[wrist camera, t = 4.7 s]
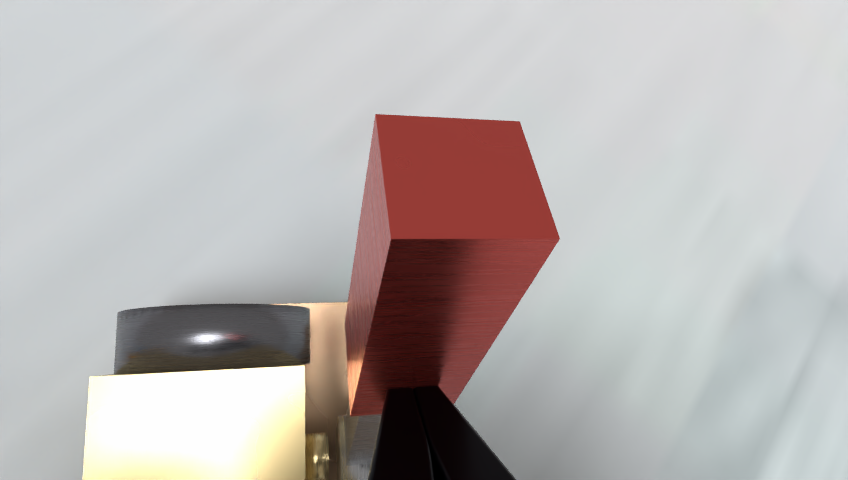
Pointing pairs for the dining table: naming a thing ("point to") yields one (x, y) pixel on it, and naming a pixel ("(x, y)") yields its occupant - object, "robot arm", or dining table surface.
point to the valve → (220, 394)
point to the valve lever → (436, 262)
